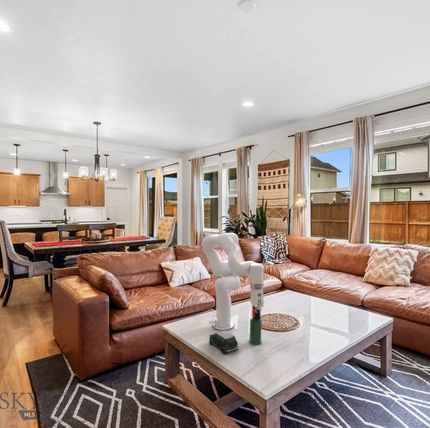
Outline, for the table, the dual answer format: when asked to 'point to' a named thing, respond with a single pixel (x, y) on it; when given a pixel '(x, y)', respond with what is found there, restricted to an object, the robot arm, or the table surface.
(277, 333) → the table surface
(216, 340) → the miniature car
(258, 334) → the bottle
